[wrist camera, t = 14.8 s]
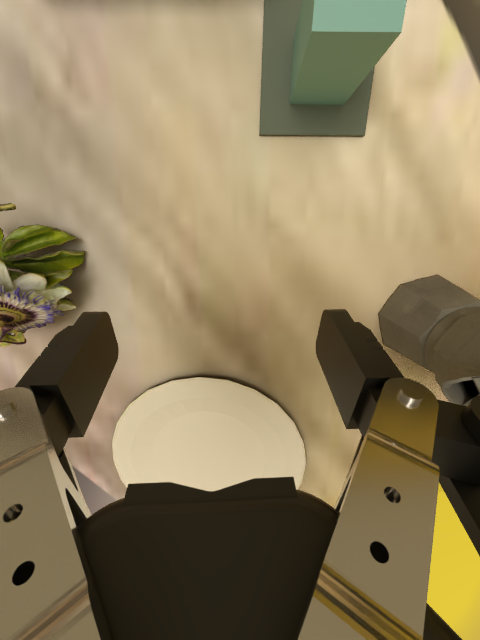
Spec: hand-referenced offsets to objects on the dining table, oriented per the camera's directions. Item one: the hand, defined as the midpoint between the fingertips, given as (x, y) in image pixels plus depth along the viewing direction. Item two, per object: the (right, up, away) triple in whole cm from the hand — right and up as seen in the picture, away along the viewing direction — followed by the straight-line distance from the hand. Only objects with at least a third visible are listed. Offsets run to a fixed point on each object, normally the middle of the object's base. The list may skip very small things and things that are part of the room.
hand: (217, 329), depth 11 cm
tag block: (+7, +21, +12) cm, 25 cm away
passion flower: (-21, +5, +20) cm, 29 cm away
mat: (+7, +21, +13) cm, 25 cm away
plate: (-3, -17, +27) cm, 33 cm away
